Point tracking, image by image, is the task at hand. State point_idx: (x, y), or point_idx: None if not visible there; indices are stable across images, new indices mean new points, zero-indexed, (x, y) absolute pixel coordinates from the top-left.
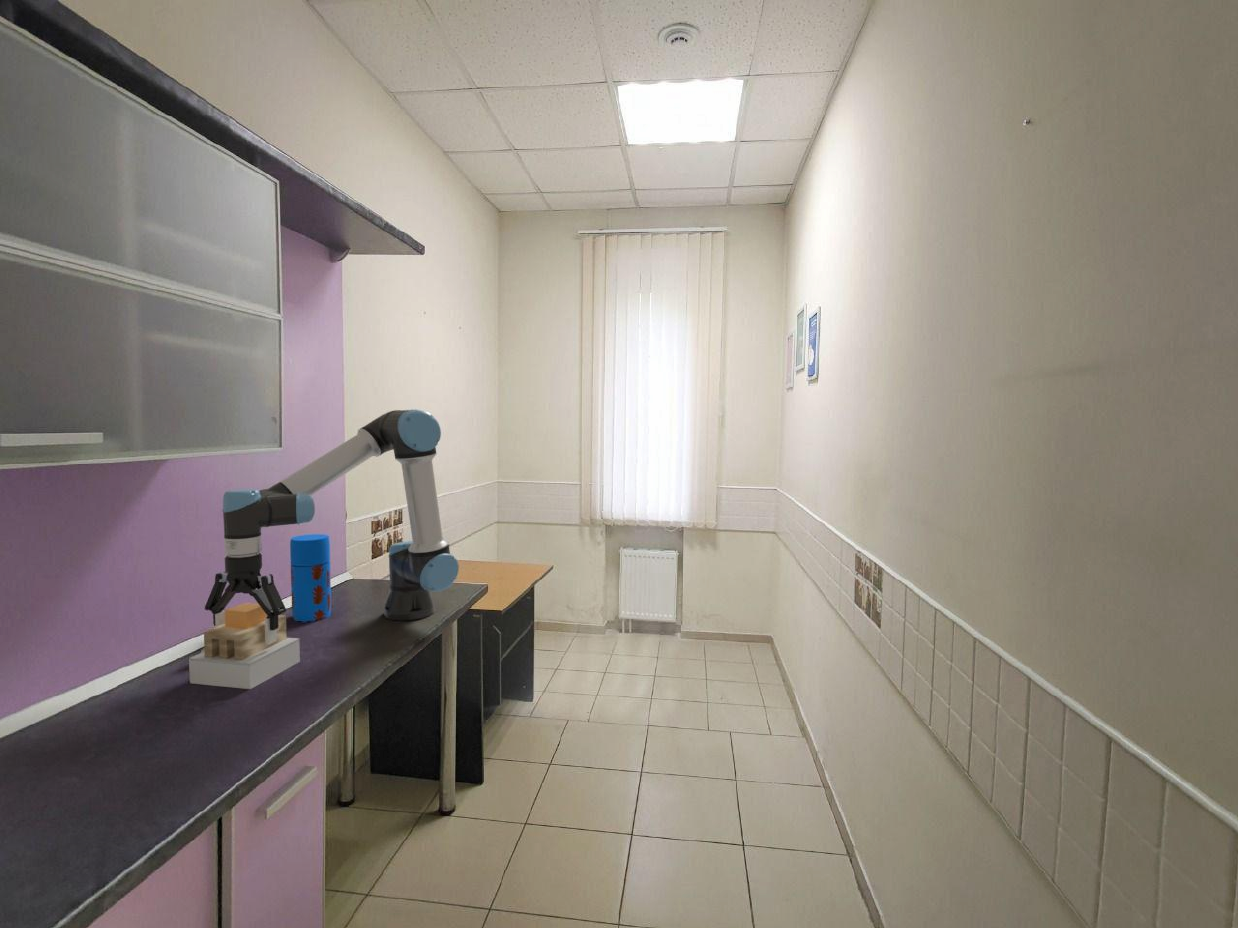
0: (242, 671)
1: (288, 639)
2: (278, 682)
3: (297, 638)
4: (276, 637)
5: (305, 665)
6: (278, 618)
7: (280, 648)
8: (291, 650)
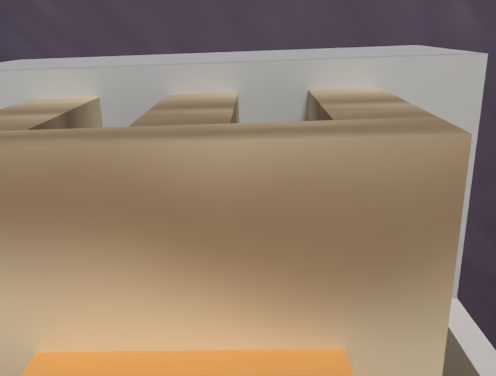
0: None
1: (404, 95)
2: (471, 296)
3: (470, 56)
4: (468, 315)
5: (485, 87)
6: (446, 262)
7: (459, 261)
8: None
